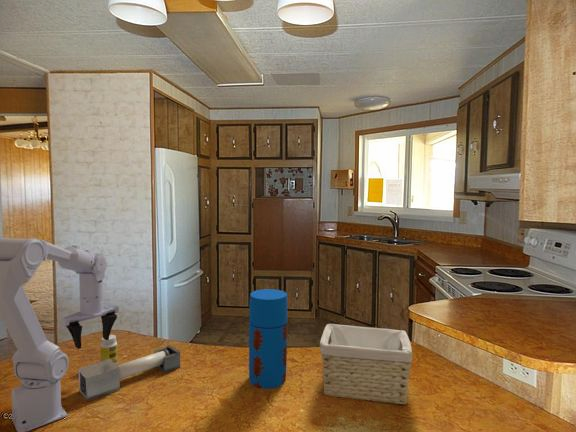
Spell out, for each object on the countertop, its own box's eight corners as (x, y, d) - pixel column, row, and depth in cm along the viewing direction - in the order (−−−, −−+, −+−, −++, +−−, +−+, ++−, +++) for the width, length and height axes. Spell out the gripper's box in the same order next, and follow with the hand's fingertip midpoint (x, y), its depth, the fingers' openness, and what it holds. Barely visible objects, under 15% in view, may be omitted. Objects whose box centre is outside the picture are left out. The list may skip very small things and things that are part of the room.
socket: (164, 372, 109) (164, 356, 108) (154, 365, 113) (154, 349, 113) (180, 367, 112) (180, 351, 112) (169, 359, 117) (169, 344, 117)
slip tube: (115, 384, 100) (115, 369, 100) (110, 378, 103) (109, 364, 102) (170, 364, 111) (170, 351, 111) (163, 360, 114) (163, 347, 114)
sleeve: (87, 401, 94) (87, 377, 93) (79, 390, 98) (78, 368, 98) (119, 389, 99) (119, 367, 99) (110, 380, 104) (109, 359, 104)
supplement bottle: (110, 368, 111) (110, 340, 111) (97, 366, 112) (96, 339, 112) (120, 360, 116) (120, 334, 115) (107, 359, 117) (107, 333, 116)
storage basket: (317, 397, 98) (318, 343, 96) (324, 368, 113) (325, 321, 112) (411, 410, 92) (414, 353, 91) (405, 378, 108) (407, 329, 107)
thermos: (241, 382, 104) (241, 295, 102) (261, 366, 113) (262, 287, 112) (274, 393, 99) (275, 302, 97) (292, 375, 108) (294, 292, 107)
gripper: (69, 305, 95) (70, 356, 96) (123, 293, 107) (124, 338, 107) (58, 299, 99) (59, 348, 100) (111, 289, 111) (112, 332, 112)
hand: (92, 343), depth 104 cm, fingers open, 7 cm apart
